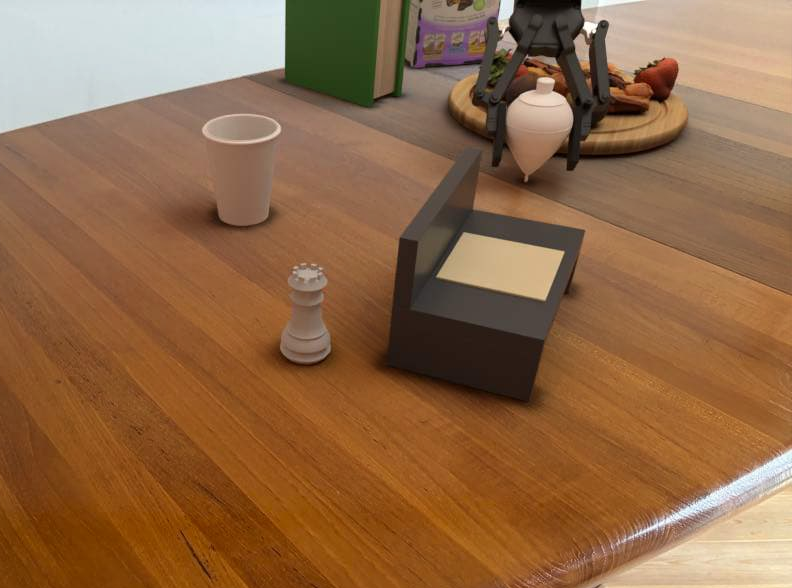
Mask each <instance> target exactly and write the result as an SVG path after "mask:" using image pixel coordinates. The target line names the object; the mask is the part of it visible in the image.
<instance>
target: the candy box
mask: <svg viewBox="0 0 792 588" xmlns="http://www.w3.org/2000/svg"><path fill="white" fill-rule="evenodd" d="M501 3H502V0H410V10H409V20H408V31H407V41H406V52H405V63H407V64H408V65H409V66H410V67H411V68H412V69H420V68H421V69H422V68H430V67H431V68H433V67H444V66H445V67H446V66H456V65H468V64H481V63H482V59H483V56H484V52H485V48H486V45H485V37H484V31H485V27H486V23H487V20H488V18H490V17H496V18H497V20H499V18H500V10H501Z"/></svg>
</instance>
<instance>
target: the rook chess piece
mask: <svg viewBox="0 0 792 588" xmlns="http://www.w3.org/2000/svg"><path fill="white" fill-rule="evenodd" d="M287 283H288V285H289V287H290V288H291V289H292V292H291V293H290V296H289V299H290V300H291V303H292V304H291V306H292V307H291V312H290V317H289V321H288V322H287V323H286V326H285V328H284V329H283V330H282V332H281V336H280V345H279V350H280V352H281V353H282V355H283V356H284V357H285V358H286V359H287V360H288V361H290V362H293V363H295V364H299V365H312V364H317V363H319V362H321V361H323V360H325V358H326V357H327V356H328V355H329V354H330V352H332V351H331V350H332V349H331V348H332V345H331V334H330V332H329V330H328V329H327V326H326V324H325V323H324V320H323V312H322V302H323V301H324V299H325V295H324V293H323V292H322V291H323V289H324V288H325V287H326V286H327V285H328V279H327V277H326V276H325V275H324V268H323V267H322V266H319V267H318V264H317V263H311V264H310V267H307V263H306V262H304V263H299V266H297V265H295V266H294V267H292V273H291V275H290V276H288V278H287Z"/></svg>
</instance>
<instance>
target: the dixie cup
mask: <svg viewBox="0 0 792 588" xmlns="http://www.w3.org/2000/svg"><path fill="white" fill-rule="evenodd" d="M281 132H282V127H281V125H280V124H279V123H278V122H277V121H276V120H275V119H273V118H271V117H268V116H265V115H261V114H254V113H233V114H226V115H221V116H217V117H214V118H212V119H210V120H208V121H207V122H206V123H204V125H203V126H202V128H201V134H202V135H203V137H204V139H205V145H206V150H207V157H208V162H209V168H210V172H211V180H212V185H213V190H214V197H215V201H216V209H217V213H218V218H219V220H220V221H222V222H223V223H224V224H225V223H226V224H228V225H231V226H237V227H239V226H240V227H247V226H248V227H249V226H254V225H258V224H260V223H263V222H264V221H266V219H268V217H269V212H270V205H271V197H272V189H273V180H274V174H275V165H276V158H277V157H276V156H277V149H278V140H279V136H280V134H281Z"/></svg>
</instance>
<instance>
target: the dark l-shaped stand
mask: <svg viewBox="0 0 792 588" xmlns="http://www.w3.org/2000/svg"><path fill="white" fill-rule="evenodd" d="M483 149H484V148H478V147H471V146H466V147H465V149H464V150H463V151H462V153H461V154H460V155H459V156H458V158H457V159H456V160H455V162H454V163H453V165H452V166H451V167H450V168H449V170H448V171H447V173H446V174H445V176H444V177H443V178H442V180H441V181H440V182H439V184H438V185H437V186H436V187H435V189H434V190H433V191H432V193H431V194H430V195H429V197H428V198H427V200H426V201H425V203H424V204H422V207H421V208H420V209H419V210H418V211H417V213H416V215H415V216H414V217H413V219H412V220H410V222H409V224H408V225H407V226H406V228H405V229H404V231H403V232H402V234H401V235H400V236H399V238H398V248H397V255H396V256H397V257H396V267H395V276H394V285H393V295H392V303H391V304H392V305H391V313H390V322H389V332H388V341H387V352H386V358H385V359H386V361H385V366H388V367H391V368H396V369H399V370H403V371H408V372H411V373H415V374H418V375H422V376H426V377H430V378H434V379H438V380H442V381H446V382H450V383H453V384H457V385H461V386H465V387H470V388H473V389H477V390H481V391H485V392H488V393H492V394H496V395H501V396H504V397H508V398H512V399H516V400H520V401H524V402H528V403H529V402H530V400H531V398H532V396H533V392H534V389H535V385H536V381H537V377H538V373H539V368H540V365H541V361H542V356H543V353H544V348H545V345H546V343H547V341H548V337H549V335H550V331H551V329H552V326H553V324H554V321H555V319H556V316H557V313H558V311H559V308H560V305H561V302H562V300H563V297H564V295H565V294H569V293H570V291H571V287H572V284H573V280H574V275H575V272H576V270H577V265H578V262H579V261H578V260H579V258H580V254H581V250H582V246H583V242H584V239H585V234H586V229H583V228H578V227H573V226H567V225H561V224H557V223H550V222H544V221H538V220H533V219H527V218H523V217H517V216H511V215H505V214H500V213H494V212H490V211H483V210H478V209H474V206H475V205H474V204H475V200H476V199H475V198H476V193H477V187H478V180H479V175H480V168H481V161H482V156H483Z"/></svg>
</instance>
